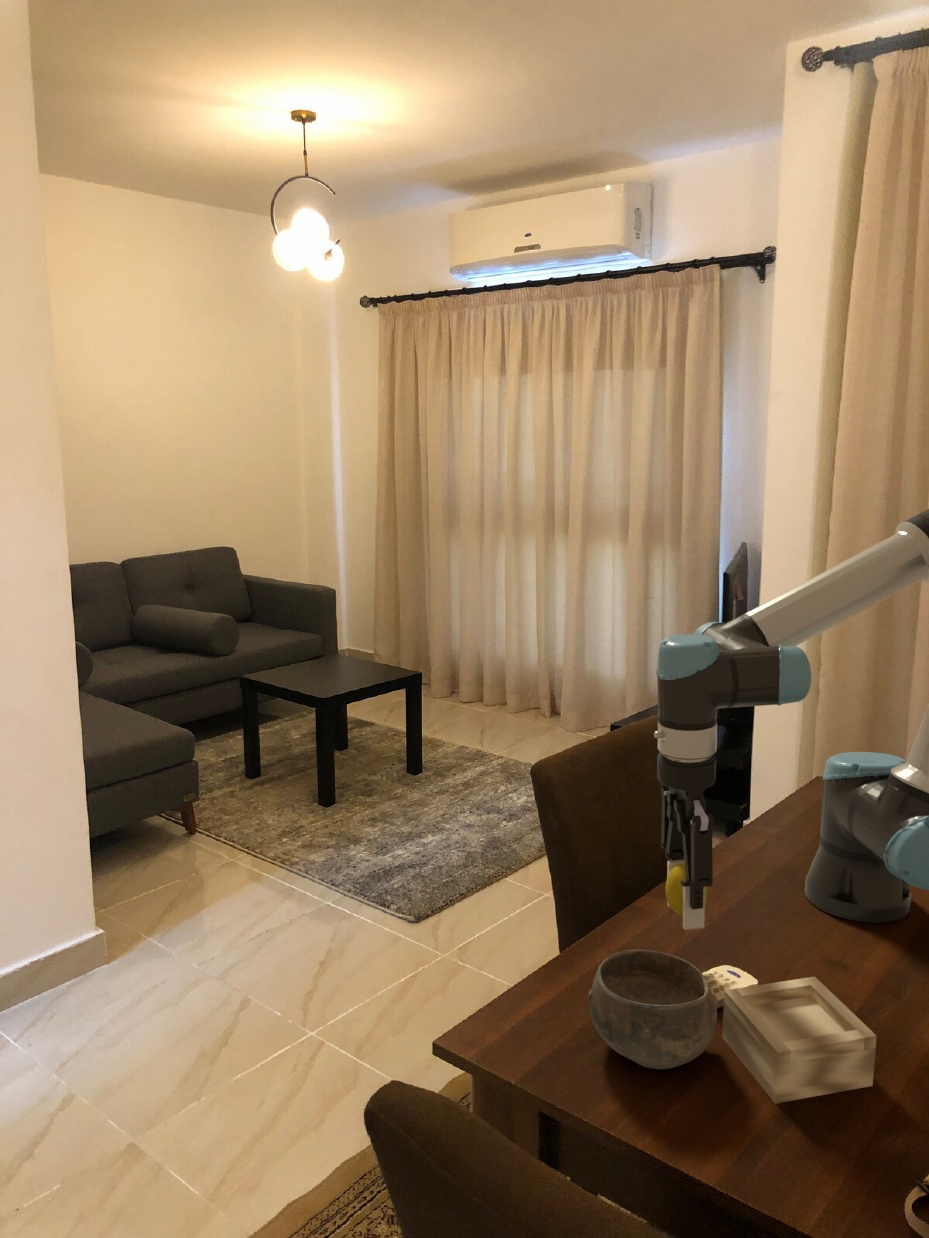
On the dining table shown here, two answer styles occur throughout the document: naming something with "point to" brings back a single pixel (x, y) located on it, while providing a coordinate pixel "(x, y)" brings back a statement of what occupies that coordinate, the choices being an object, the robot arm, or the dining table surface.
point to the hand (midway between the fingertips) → (685, 915)
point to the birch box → (798, 1039)
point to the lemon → (677, 888)
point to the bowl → (653, 1008)
